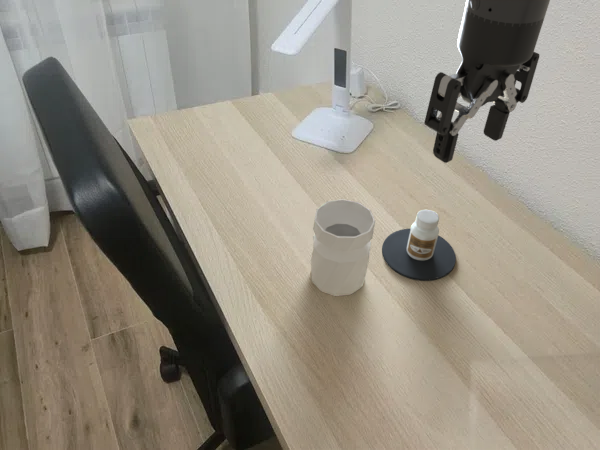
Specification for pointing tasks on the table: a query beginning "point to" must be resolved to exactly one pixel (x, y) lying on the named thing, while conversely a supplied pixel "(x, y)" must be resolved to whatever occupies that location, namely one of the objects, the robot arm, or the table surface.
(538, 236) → the table surface
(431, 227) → the pill bottle
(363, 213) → the vase
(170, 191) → the table surface
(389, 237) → the rubber mat
